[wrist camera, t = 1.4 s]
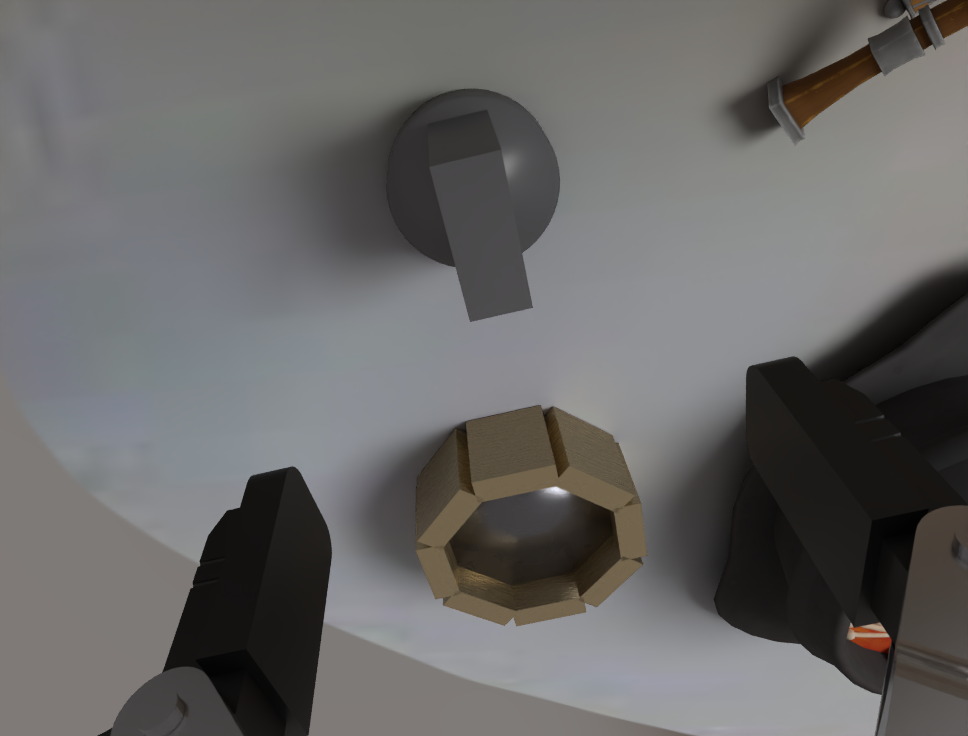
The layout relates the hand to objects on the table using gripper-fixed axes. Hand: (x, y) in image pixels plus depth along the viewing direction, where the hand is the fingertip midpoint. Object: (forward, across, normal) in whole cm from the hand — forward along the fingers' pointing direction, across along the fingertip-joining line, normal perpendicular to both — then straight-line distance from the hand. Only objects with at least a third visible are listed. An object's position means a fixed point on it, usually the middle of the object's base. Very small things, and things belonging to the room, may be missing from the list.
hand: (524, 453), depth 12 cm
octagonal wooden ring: (+15, +1, +16) cm, 22 cm away
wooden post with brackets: (+15, -14, -2) cm, 21 cm away
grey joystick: (+15, 0, 0) cm, 15 cm away
